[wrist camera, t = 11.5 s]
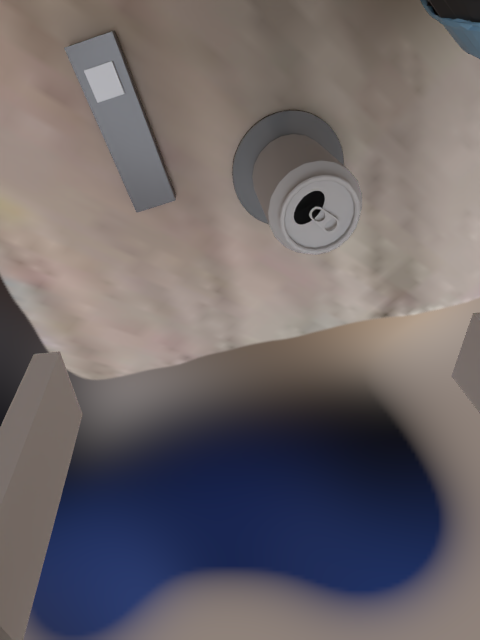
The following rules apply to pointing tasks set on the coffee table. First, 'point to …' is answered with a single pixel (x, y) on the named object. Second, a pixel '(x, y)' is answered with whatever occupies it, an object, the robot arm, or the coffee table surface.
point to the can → (306, 195)
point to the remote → (121, 119)
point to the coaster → (267, 133)
